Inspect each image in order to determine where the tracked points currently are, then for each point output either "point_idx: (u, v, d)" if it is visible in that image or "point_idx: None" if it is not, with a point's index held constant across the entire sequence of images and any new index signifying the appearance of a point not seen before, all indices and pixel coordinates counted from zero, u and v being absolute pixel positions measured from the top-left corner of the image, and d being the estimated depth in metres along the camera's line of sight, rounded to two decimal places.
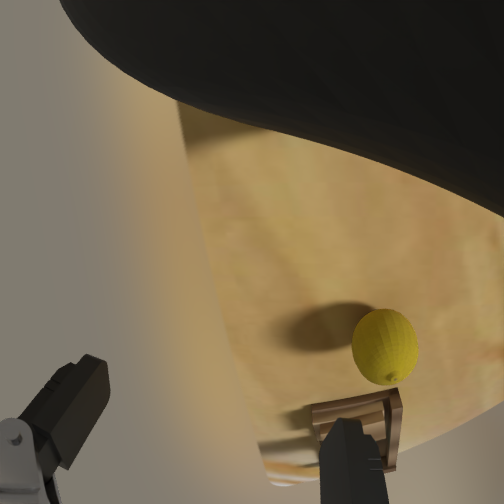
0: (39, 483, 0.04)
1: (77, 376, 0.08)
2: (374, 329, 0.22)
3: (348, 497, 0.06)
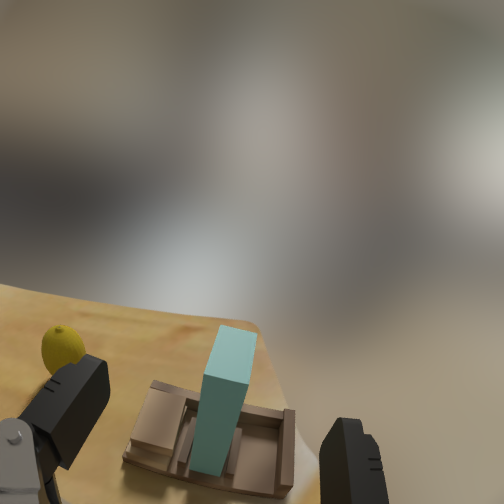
0: (39, 483, 0.04)
1: (77, 376, 0.08)
2: None
3: (348, 497, 0.06)
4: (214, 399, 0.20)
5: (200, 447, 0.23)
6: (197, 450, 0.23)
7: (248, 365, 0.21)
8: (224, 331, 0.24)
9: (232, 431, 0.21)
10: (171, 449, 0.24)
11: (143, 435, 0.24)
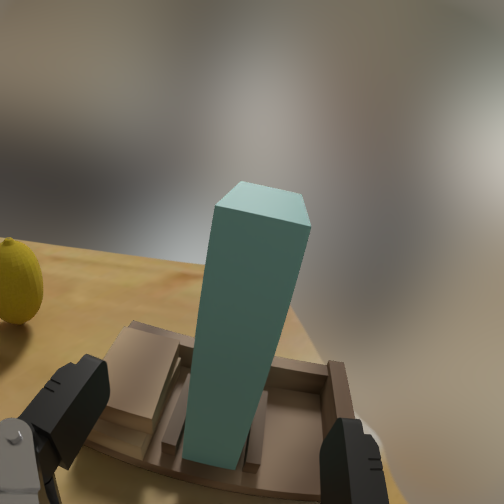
0: (39, 483, 0.04)
1: (77, 376, 0.08)
2: None
3: (348, 497, 0.06)
4: (234, 280, 0.10)
5: (200, 411, 0.13)
6: (196, 417, 0.13)
7: (301, 211, 0.11)
8: (247, 185, 0.14)
9: (266, 366, 0.12)
10: (149, 418, 0.14)
11: None
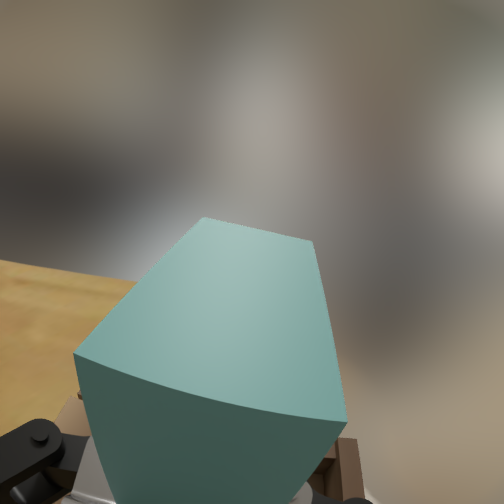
0: None
1: None
2: None
3: None
4: (159, 480, 0.04)
5: None
6: None
7: (317, 322, 0.05)
8: (211, 228, 0.08)
9: None
10: None
11: None
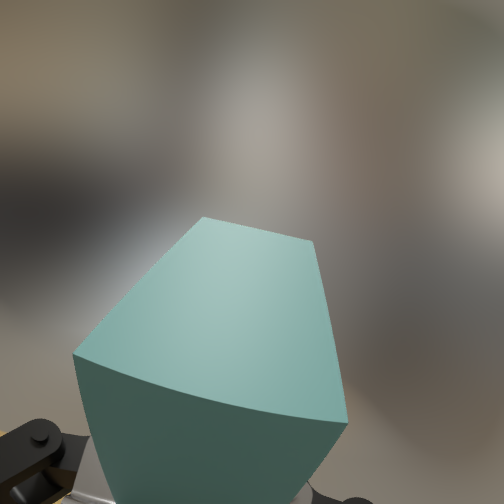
0: None
1: None
2: None
3: None
4: (159, 480, 0.04)
5: None
6: None
7: (317, 323, 0.05)
8: (211, 228, 0.08)
9: None
10: None
11: None
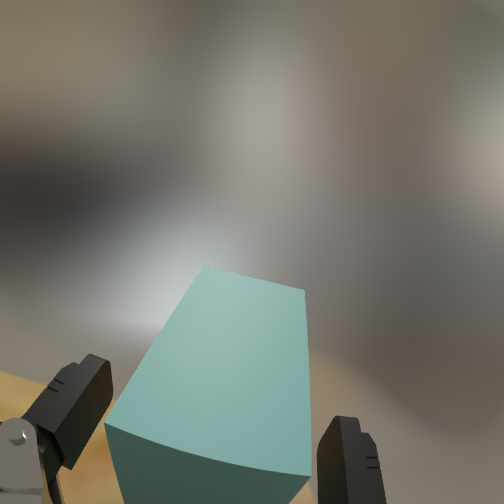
0: (42, 483, 0.04)
1: (80, 376, 0.08)
2: None
3: (344, 495, 0.06)
4: (168, 503, 0.04)
5: None
6: None
7: (298, 386, 0.05)
8: (211, 281, 0.08)
9: None
10: None
11: None
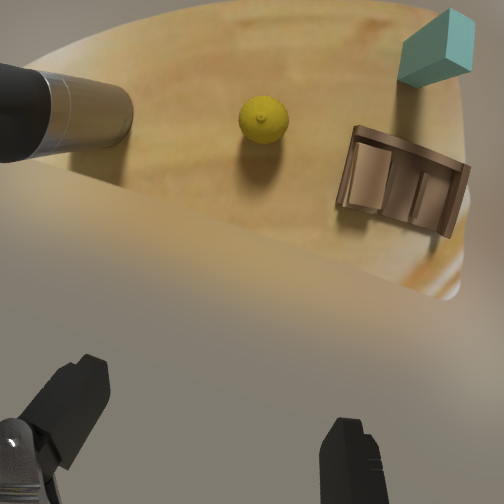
0: (39, 483, 0.04)
1: (77, 376, 0.08)
2: None
3: (348, 497, 0.06)
4: (443, 66, 0.22)
5: (415, 76, 0.29)
6: (412, 76, 0.29)
7: (471, 53, 0.19)
8: (453, 16, 0.18)
9: (444, 78, 0.25)
10: (379, 208, 0.35)
11: (359, 198, 0.35)
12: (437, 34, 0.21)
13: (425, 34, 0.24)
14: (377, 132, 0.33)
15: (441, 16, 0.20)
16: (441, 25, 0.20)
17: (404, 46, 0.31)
